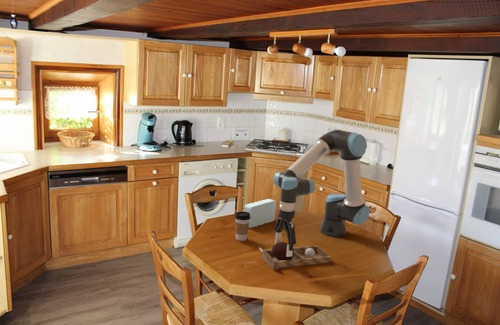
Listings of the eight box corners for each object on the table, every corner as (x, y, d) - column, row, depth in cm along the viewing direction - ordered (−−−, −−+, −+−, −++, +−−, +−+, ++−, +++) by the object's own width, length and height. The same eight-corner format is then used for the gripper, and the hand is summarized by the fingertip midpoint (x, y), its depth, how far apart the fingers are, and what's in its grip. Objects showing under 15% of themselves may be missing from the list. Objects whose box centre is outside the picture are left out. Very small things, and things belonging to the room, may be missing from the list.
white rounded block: (267, 218, 282) (269, 197, 279) (274, 220, 278) (276, 200, 275) (242, 225, 265) (243, 204, 262) (249, 228, 261) (250, 207, 258)
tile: (269, 247, 236) (269, 246, 236) (276, 255, 227) (276, 253, 227) (258, 248, 234) (258, 246, 234) (265, 256, 225) (266, 254, 224)
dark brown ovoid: (287, 266, 212) (289, 248, 210) (267, 258, 219) (268, 241, 217) (297, 261, 219) (299, 243, 217) (277, 254, 226) (278, 236, 224)
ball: (311, 255, 228) (312, 246, 226) (316, 259, 223) (317, 250, 222) (302, 256, 226) (303, 246, 225) (307, 260, 221) (308, 250, 220)
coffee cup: (246, 242, 240) (248, 216, 237) (231, 240, 241) (233, 214, 238) (250, 237, 248) (252, 211, 245) (235, 235, 250) (237, 209, 246)
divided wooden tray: (316, 252, 234) (317, 245, 233) (330, 264, 221) (330, 256, 220) (262, 257, 223) (262, 250, 222) (273, 270, 210) (273, 262, 209)
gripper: (270, 201, 223) (266, 241, 228) (291, 218, 201) (287, 262, 205) (283, 201, 226) (280, 240, 231) (306, 217, 203) (301, 260, 208)
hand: (283, 250), depth 218 cm, fingers open, 13 cm apart
